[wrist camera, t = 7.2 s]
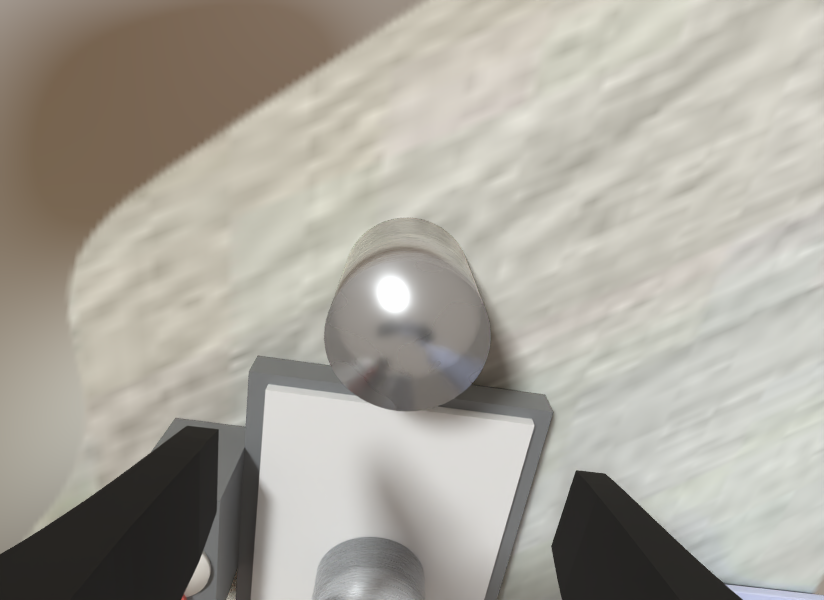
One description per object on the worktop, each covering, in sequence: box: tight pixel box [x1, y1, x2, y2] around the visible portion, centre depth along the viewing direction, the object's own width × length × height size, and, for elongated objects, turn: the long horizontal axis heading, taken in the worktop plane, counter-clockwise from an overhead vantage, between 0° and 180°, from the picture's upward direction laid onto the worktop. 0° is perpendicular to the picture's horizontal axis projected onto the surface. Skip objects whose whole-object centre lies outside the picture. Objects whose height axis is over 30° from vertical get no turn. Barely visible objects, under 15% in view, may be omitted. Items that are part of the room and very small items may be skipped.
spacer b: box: [324, 218, 491, 411], centre depth 16 cm, size 4×4×5 cm
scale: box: [152, 356, 553, 600], centre depth 20 cm, size 14×12×4 cm
